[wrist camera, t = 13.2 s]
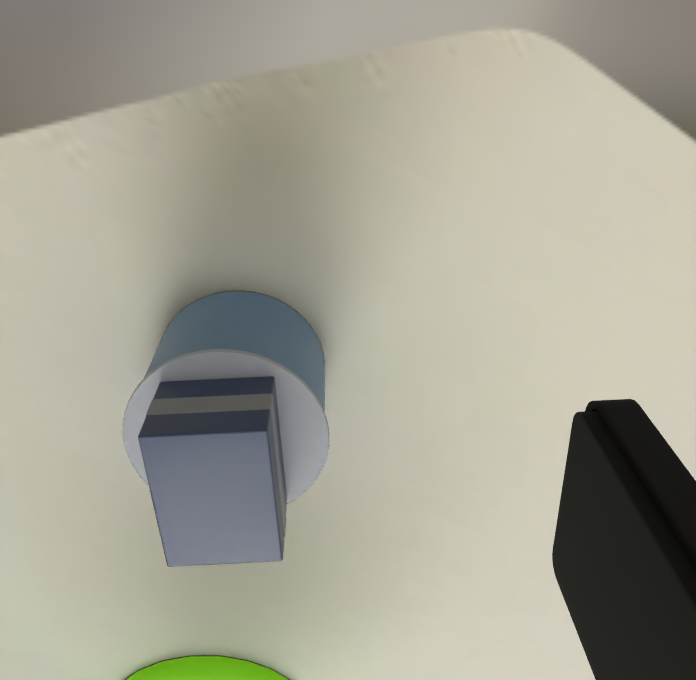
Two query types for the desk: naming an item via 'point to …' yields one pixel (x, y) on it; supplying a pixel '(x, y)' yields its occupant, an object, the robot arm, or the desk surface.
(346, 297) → the desk surface
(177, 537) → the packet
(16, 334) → the desk surface
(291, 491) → the yogurt
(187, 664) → the wineglass
